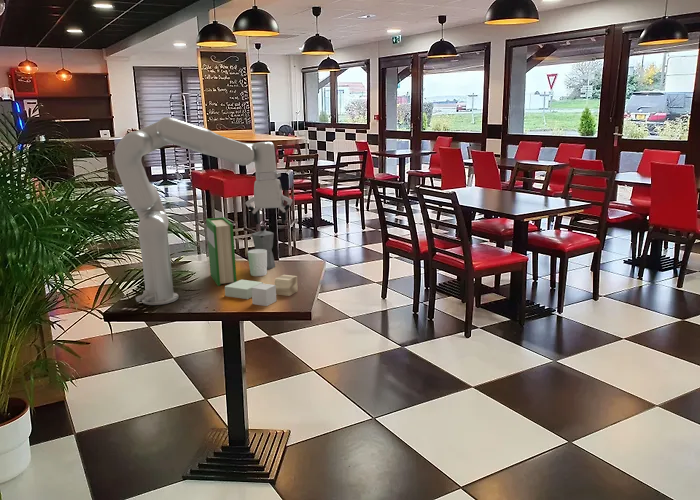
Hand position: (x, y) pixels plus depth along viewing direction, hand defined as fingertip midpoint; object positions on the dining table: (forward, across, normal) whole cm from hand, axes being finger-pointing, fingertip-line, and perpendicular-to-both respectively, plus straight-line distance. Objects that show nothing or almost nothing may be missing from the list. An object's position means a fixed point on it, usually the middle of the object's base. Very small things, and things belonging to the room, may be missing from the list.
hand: (270, 223), depth 210 cm
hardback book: (+25, +25, -14) cm, 38 cm away
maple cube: (+26, -4, +4) cm, 27 cm away
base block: (+26, +11, +5) cm, 28 cm away
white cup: (+26, +12, -22) cm, 36 cm away
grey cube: (+26, +1, +16) cm, 30 cm away
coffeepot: (+26, +12, -35) cm, 45 cm away
